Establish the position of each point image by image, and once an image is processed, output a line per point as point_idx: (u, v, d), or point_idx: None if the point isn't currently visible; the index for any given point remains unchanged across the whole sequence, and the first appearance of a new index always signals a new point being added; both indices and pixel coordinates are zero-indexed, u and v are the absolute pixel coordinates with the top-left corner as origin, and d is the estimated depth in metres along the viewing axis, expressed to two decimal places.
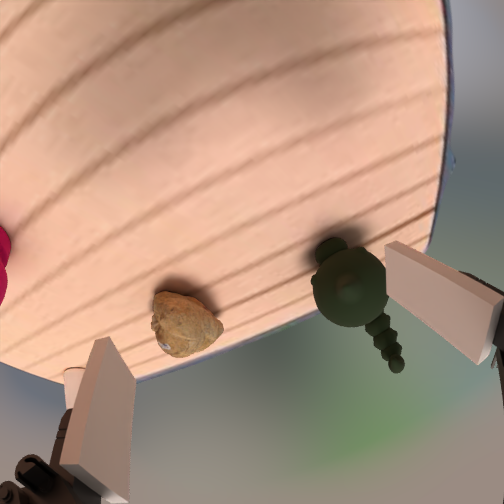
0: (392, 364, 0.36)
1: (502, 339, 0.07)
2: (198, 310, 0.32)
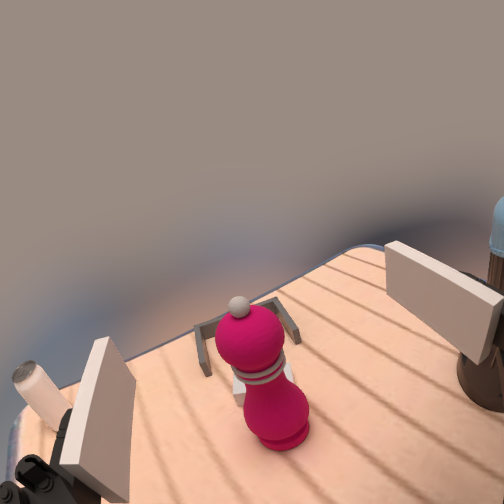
0: None
1: (502, 339, 0.07)
2: None
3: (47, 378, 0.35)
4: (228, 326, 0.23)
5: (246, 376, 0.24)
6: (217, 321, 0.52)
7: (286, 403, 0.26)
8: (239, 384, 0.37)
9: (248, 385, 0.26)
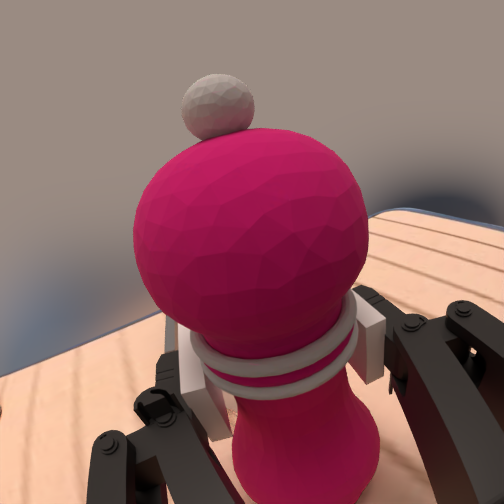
0: None
1: (393, 367, 0.08)
2: None
3: None
4: (172, 161, 0.06)
5: (235, 370, 0.07)
6: None
7: (346, 443, 0.09)
8: None
9: (243, 400, 0.08)
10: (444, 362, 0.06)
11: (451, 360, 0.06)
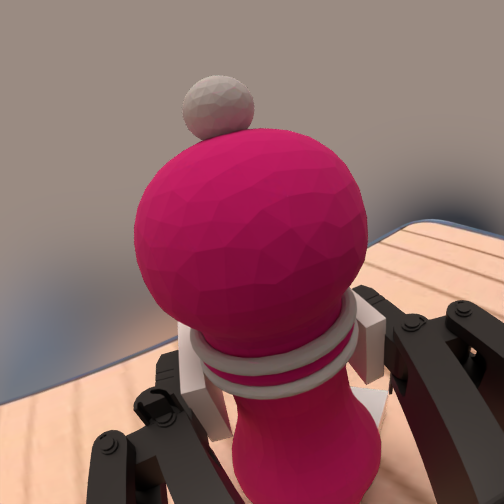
0: None
1: (393, 368, 0.08)
2: None
3: None
4: (173, 160, 0.06)
5: (234, 368, 0.07)
6: None
7: (346, 445, 0.09)
8: None
9: (242, 400, 0.08)
10: (444, 362, 0.06)
11: (451, 360, 0.06)
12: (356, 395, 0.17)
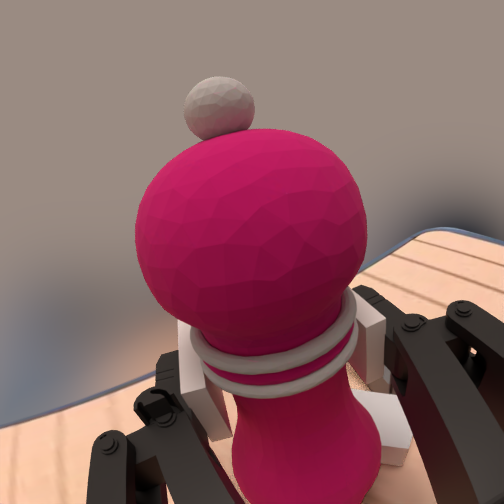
0: None
1: (393, 367, 0.08)
2: None
3: None
4: (174, 159, 0.06)
5: (233, 367, 0.07)
6: None
7: (346, 446, 0.09)
8: None
9: (242, 400, 0.08)
10: (444, 362, 0.06)
11: (451, 360, 0.06)
12: (389, 402, 0.16)
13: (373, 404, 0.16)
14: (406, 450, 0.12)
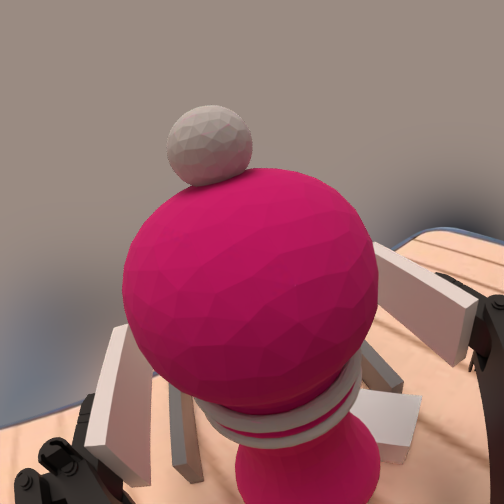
0: None
1: (478, 343, 0.07)
2: None
3: None
4: (159, 218, 0.05)
5: (237, 426, 0.06)
6: None
7: (346, 470, 0.08)
8: None
9: None
10: None
11: None
12: (390, 401, 0.16)
13: (374, 402, 0.16)
14: (407, 448, 0.12)
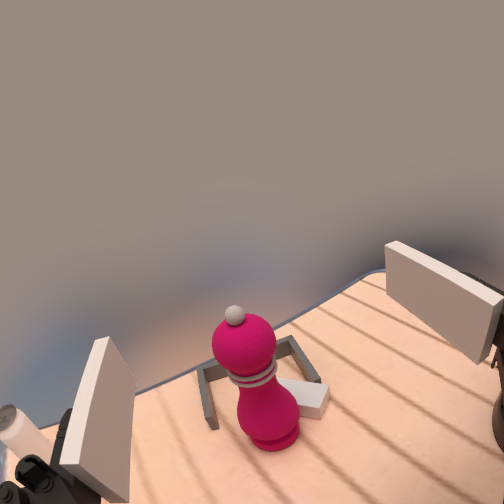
0: None
1: (502, 339, 0.07)
2: None
3: (30, 426, 0.26)
4: (224, 333, 0.25)
5: (240, 379, 0.26)
6: None
7: (278, 405, 0.28)
8: None
9: (242, 388, 0.27)
10: None
11: None
12: (312, 386, 0.35)
13: (303, 387, 0.36)
14: (318, 409, 0.32)
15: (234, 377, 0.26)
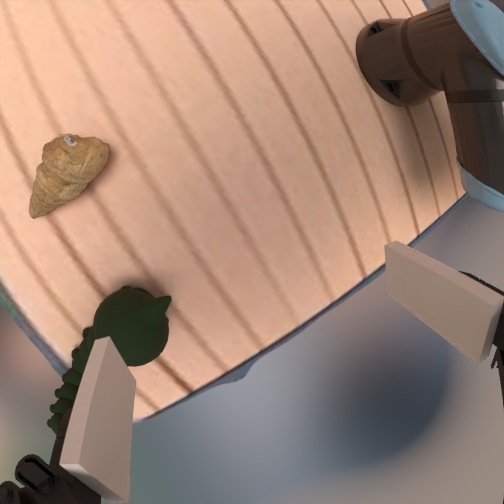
0: None
1: (502, 339, 0.07)
2: (92, 179, 0.29)
3: None
4: None
5: None
6: None
7: None
8: None
9: None
10: None
11: None
12: None
13: None
14: None
15: None
